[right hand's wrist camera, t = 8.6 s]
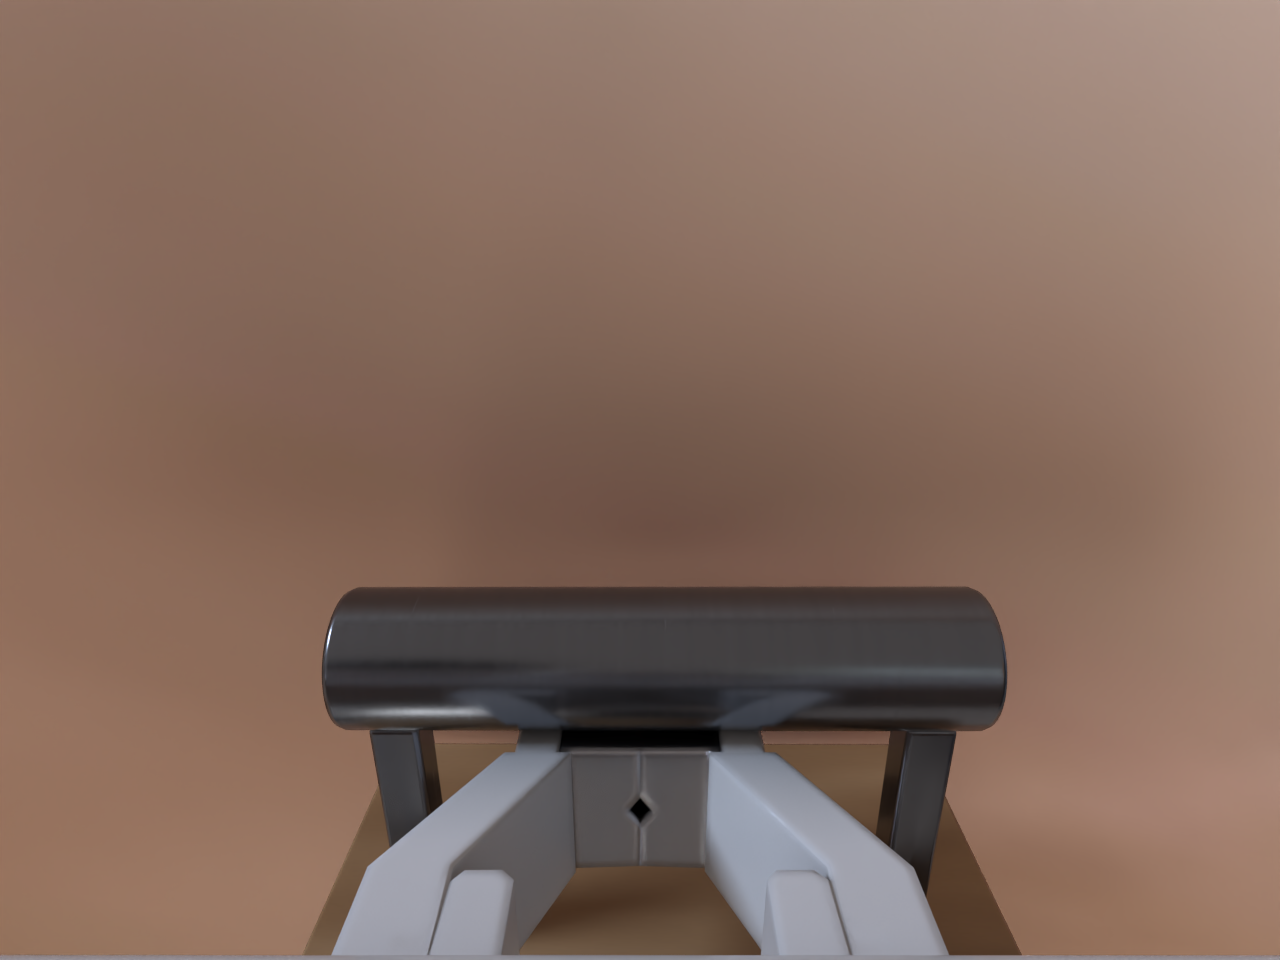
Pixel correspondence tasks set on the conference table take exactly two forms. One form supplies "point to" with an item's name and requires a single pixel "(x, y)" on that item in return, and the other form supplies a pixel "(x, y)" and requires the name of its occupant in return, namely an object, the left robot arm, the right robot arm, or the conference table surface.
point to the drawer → (675, 725)
